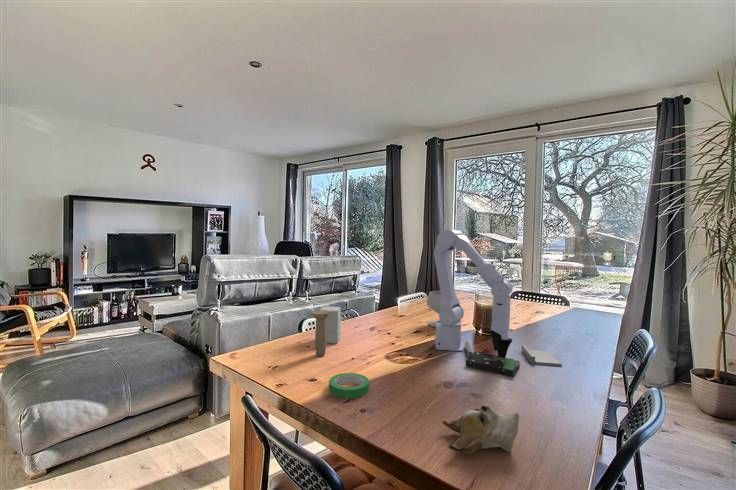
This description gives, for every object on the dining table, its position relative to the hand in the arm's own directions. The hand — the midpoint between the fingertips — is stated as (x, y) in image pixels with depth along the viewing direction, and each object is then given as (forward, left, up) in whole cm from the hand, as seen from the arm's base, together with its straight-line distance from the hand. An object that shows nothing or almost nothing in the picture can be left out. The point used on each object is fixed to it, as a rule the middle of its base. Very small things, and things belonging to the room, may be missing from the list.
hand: (499, 354), depth 124 cm
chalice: (-18, +38, -2) cm, 42 cm away
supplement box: (-62, +6, -2) cm, 62 cm away
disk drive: (-4, -9, -2) cm, 10 cm away
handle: (-61, -10, -2) cm, 62 cm away
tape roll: (-46, -33, -2) cm, 57 cm away
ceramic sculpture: (-14, -53, -2) cm, 55 cm away
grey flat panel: (+4, +3, -1) cm, 5 cm away
